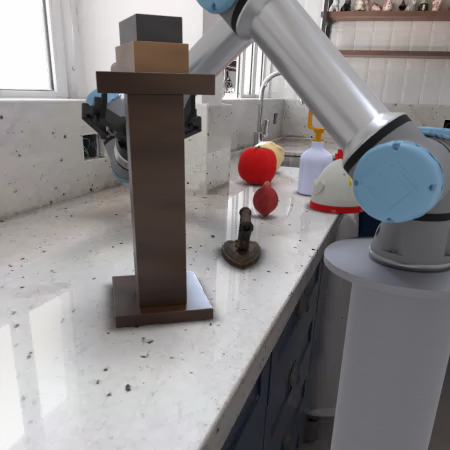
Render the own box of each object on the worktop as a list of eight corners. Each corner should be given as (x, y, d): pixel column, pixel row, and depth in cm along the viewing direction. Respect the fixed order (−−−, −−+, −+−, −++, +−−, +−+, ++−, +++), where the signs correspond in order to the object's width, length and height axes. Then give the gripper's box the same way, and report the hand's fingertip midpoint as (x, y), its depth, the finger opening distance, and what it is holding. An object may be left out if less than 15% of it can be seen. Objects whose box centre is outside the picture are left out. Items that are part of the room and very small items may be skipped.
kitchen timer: (322, 214, 114) (328, 148, 109) (302, 202, 127) (306, 142, 121) (375, 212, 117) (385, 148, 111) (351, 201, 130) (358, 142, 124)
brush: (95, 77, 70) (92, 33, 67) (136, 78, 72) (134, 36, 70) (135, 72, 50) (132, 12, 48) (189, 74, 53) (188, 16, 50)
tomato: (241, 187, 145) (242, 147, 141) (233, 180, 158) (234, 143, 153) (280, 187, 147) (283, 147, 143) (270, 179, 159) (272, 143, 155)
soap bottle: (326, 197, 134) (335, 101, 124) (294, 194, 137) (300, 100, 127) (331, 191, 141) (341, 101, 132) (301, 189, 144) (308, 100, 135)
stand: (112, 285, 71) (95, 74, 59) (193, 280, 73) (191, 77, 62) (116, 327, 58) (95, 70, 47) (213, 319, 61) (215, 74, 50)
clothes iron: (259, 250, 89) (268, 201, 83) (261, 286, 80) (271, 233, 74) (221, 246, 88) (228, 196, 82) (219, 281, 79) (226, 228, 73)
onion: (261, 220, 108) (263, 184, 105) (247, 215, 113) (248, 180, 109) (282, 217, 111) (284, 182, 108) (267, 212, 115) (269, 178, 112)
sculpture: (287, 172, 175) (290, 141, 170) (267, 175, 166) (268, 143, 162) (263, 168, 182) (264, 138, 177) (242, 172, 174) (243, 140, 169)
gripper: (196, 169, 98) (227, 129, 78) (68, 158, 91) (65, 112, 71) (196, 133, 98) (227, 84, 78) (68, 119, 91) (65, 62, 71)
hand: (150, 97), depth 74 cm, fingers open, 13 cm apart
